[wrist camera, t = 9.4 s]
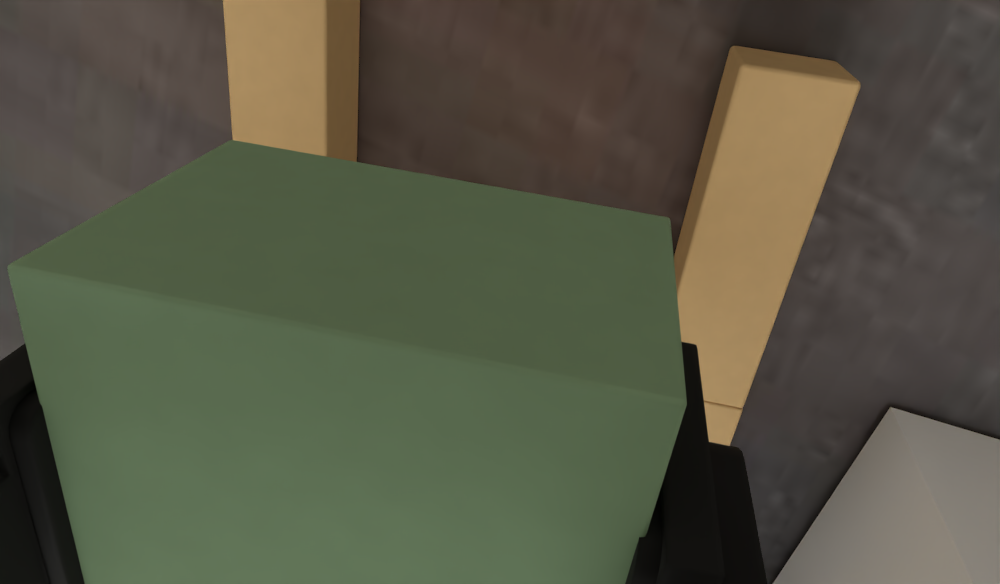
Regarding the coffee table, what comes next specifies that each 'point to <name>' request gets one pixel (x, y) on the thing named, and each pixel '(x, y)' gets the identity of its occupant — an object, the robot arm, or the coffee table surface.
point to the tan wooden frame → (714, 197)
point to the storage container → (908, 511)
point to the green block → (354, 377)
